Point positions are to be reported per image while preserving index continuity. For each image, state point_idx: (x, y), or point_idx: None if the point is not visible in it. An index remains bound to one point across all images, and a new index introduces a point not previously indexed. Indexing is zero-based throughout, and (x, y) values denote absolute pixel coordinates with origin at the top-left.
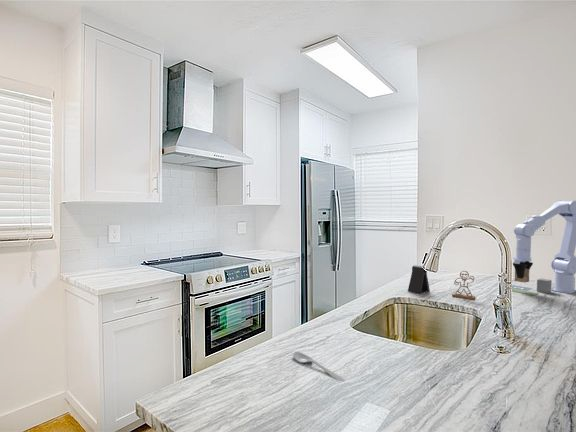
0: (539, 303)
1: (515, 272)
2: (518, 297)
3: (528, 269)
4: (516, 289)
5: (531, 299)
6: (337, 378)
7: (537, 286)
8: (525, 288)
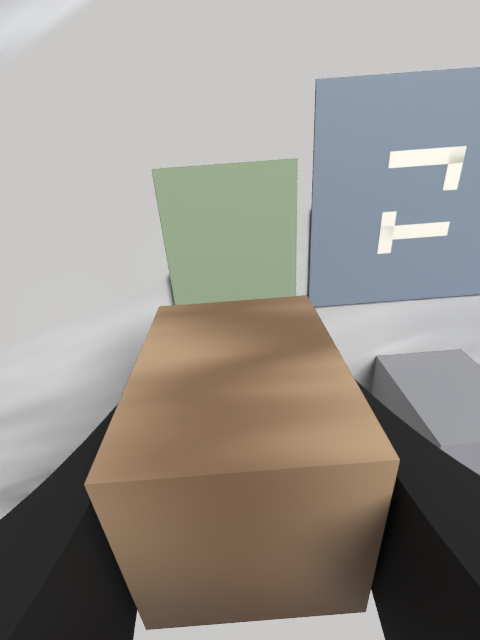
0: (8, 494)
1: (123, 407)
2: (3, 375)
3: (311, 609)
4: (272, 239)
5: (54, 439)
6: None
7: (398, 391)
8: (442, 250)
